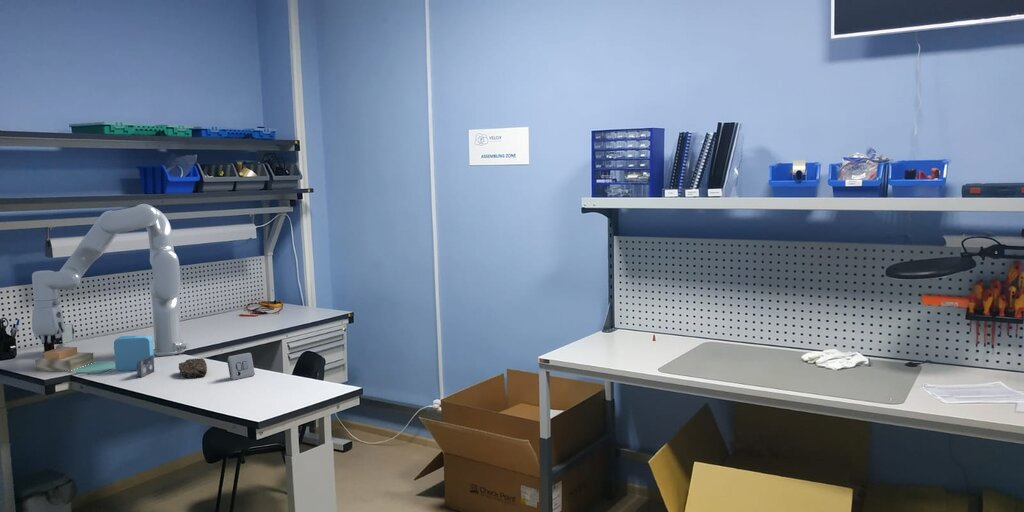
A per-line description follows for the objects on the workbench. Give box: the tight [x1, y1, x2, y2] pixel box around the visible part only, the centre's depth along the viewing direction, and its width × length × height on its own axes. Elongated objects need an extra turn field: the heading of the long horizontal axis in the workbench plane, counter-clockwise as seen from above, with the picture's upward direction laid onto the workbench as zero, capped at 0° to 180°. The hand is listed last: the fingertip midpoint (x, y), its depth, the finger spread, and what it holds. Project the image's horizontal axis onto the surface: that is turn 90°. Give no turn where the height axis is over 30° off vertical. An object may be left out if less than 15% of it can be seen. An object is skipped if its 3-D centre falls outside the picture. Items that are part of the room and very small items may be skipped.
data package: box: [113, 334, 155, 372], centre depth 267 cm, size 12×4×12 cm, turn 101°
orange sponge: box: [43, 346, 78, 359], centre depth 271 cm, size 6×9×2 cm, turn 172°
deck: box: [34, 351, 95, 372], centre depth 271 cm, size 14×12×4 cm
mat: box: [69, 360, 116, 374], centre depth 269 cm, size 12×15×1 cm
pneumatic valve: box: [54, 323, 75, 349], centre depth 292 cm, size 6×12×12 cm, turn 4°
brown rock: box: [178, 357, 208, 379], centre depth 259 cm, size 12×10×5 cm
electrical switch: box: [226, 352, 256, 381], centre depth 256 cm, size 8×5×8 cm, turn 137°
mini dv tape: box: [136, 355, 155, 379], centre depth 259 cm, size 8×2×6 cm, turn 176°
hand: (49, 352), depth 272 cm, fingers closed
